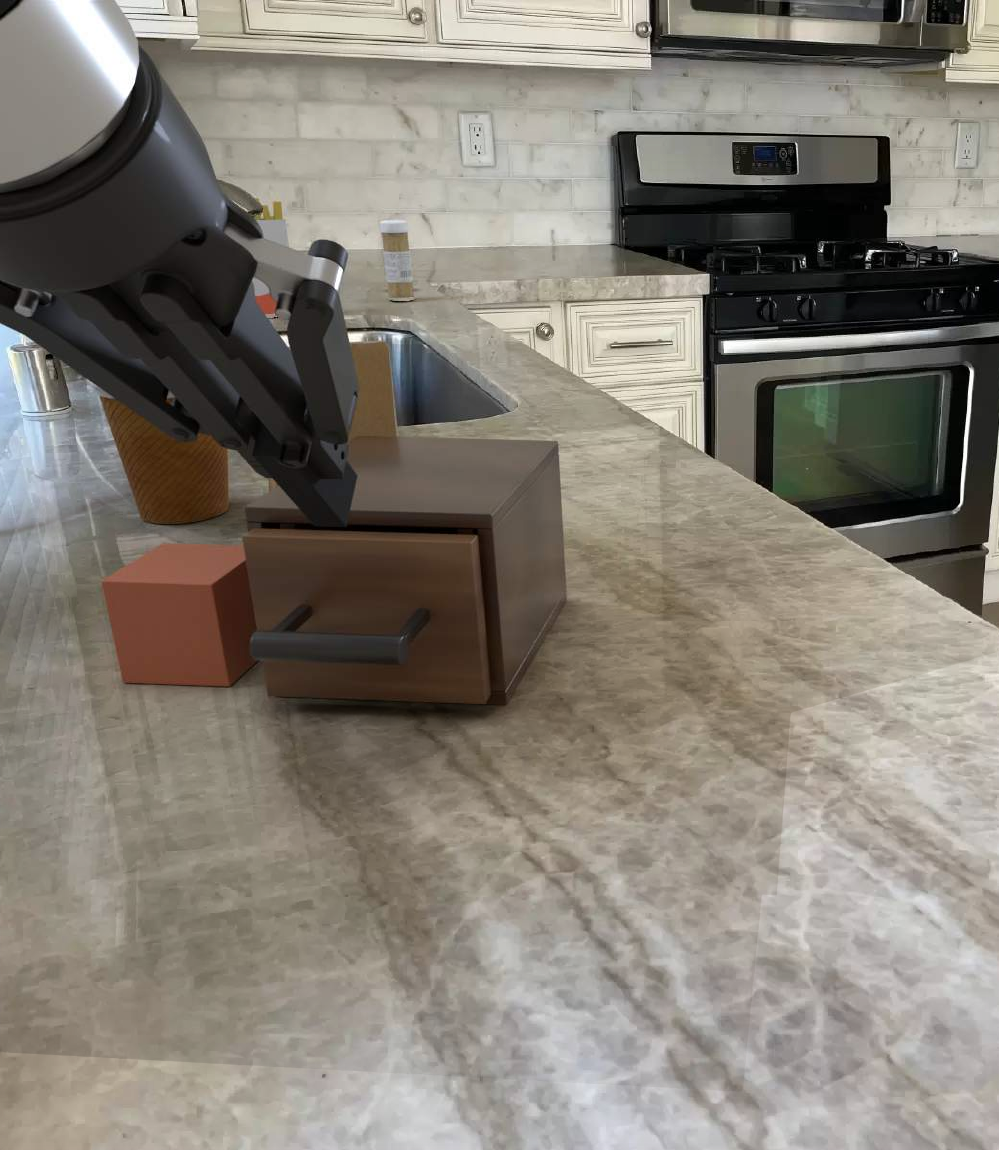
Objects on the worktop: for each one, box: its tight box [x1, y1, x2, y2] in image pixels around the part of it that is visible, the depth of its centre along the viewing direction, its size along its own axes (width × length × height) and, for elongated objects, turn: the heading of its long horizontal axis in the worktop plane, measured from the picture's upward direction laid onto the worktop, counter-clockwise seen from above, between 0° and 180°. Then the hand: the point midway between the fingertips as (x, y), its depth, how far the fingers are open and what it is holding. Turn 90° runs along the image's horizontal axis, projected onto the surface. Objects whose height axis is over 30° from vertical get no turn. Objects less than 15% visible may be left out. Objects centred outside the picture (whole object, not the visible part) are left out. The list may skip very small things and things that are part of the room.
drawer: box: [241, 523, 491, 705], centre depth 61 cm, size 18×11×9 cm, turn 177°
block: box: [101, 542, 259, 688], centre depth 64 cm, size 6×6×6 cm
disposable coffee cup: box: [88, 380, 230, 525], centre depth 88 cm, size 10×10×12 cm
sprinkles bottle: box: [379, 219, 415, 298], centre depth 198 cm, size 5×5×14 cm
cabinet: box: [243, 436, 568, 706], centre depth 66 cm, size 15×13×11 cm
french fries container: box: [252, 197, 290, 314], centre depth 178 cm, size 5×11×18 cm, turn 123°
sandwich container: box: [267, 340, 399, 492], centre depth 85 cm, size 9×15×15 cm, turn 26°
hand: (336, 500), depth 53 cm, fingers closed
